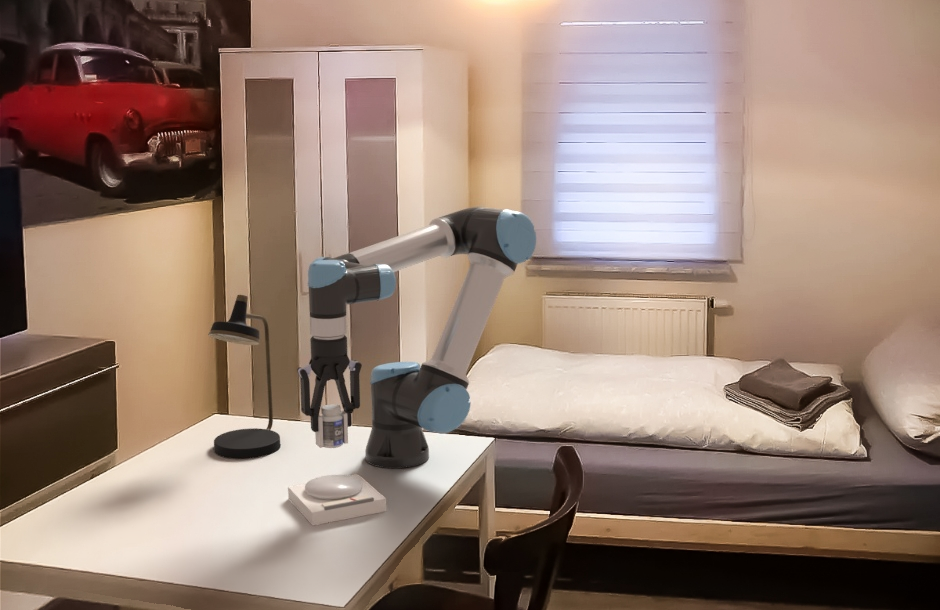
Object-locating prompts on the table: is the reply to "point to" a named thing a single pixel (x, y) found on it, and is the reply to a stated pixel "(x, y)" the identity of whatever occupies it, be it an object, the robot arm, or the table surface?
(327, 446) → the pill bottle
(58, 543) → the table surface
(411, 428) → the robot arm
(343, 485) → the scale
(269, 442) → the lamp
